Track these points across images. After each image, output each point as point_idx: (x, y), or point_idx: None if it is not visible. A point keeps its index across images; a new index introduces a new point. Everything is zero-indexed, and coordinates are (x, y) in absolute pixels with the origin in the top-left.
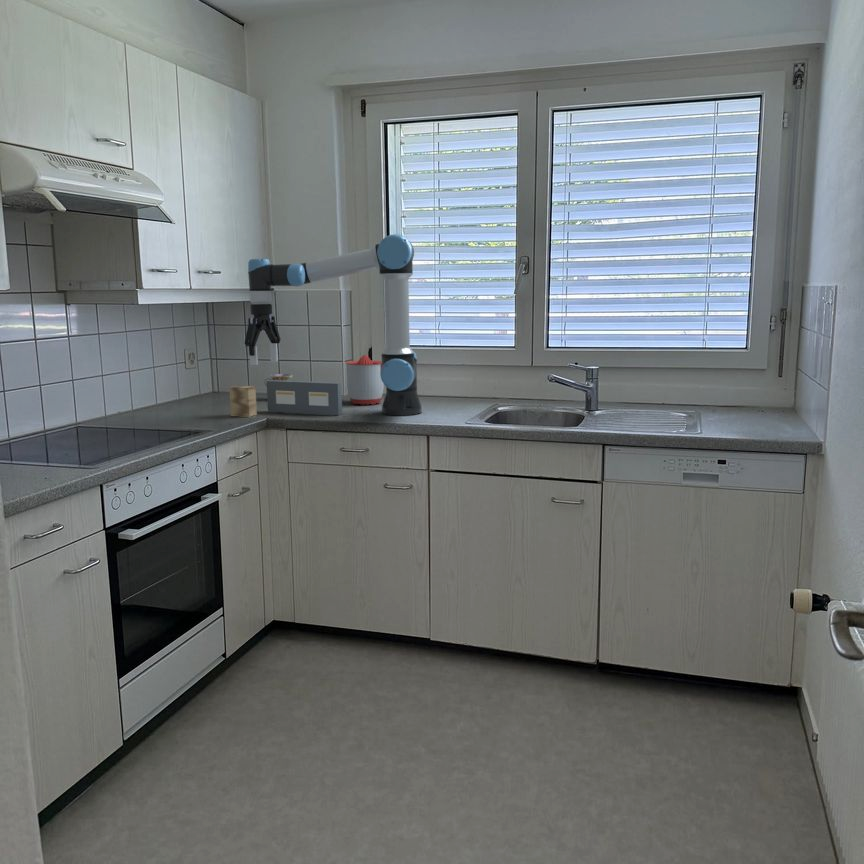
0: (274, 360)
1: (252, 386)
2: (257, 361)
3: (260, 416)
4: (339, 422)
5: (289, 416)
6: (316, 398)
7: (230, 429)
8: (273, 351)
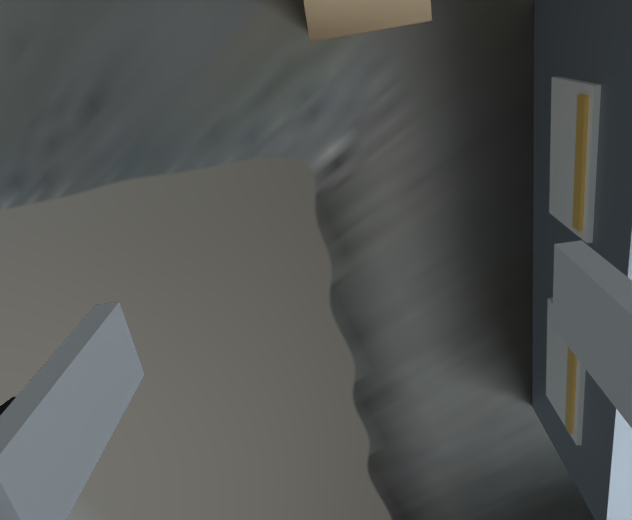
0: (556, 302)
1: (411, 3)
2: (127, 398)
3: (374, 74)
4: (383, 481)
5: (436, 223)
6: (563, 361)
7: (4, 205)
8: (616, 360)
